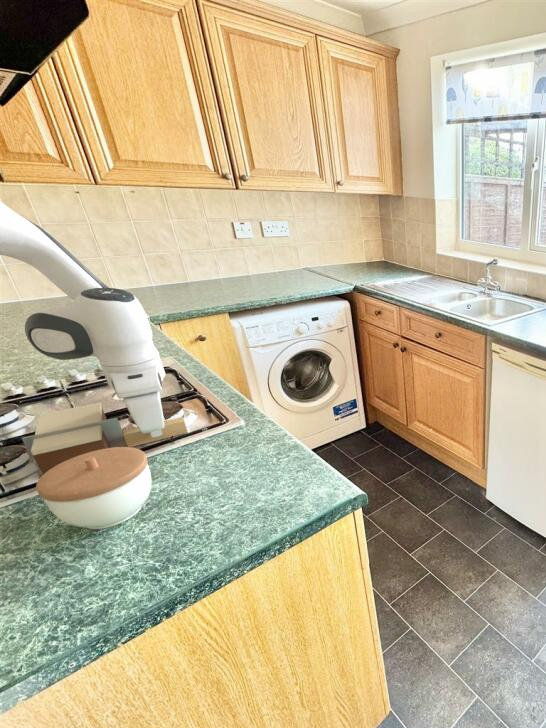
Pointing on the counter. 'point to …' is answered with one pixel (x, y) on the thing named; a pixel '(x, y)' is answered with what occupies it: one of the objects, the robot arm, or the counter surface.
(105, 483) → the lidded bowl
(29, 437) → the cleaver
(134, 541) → the counter surface
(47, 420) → the cake
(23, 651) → the counter surface
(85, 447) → the cake slice
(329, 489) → the counter surface
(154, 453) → the counter surface
